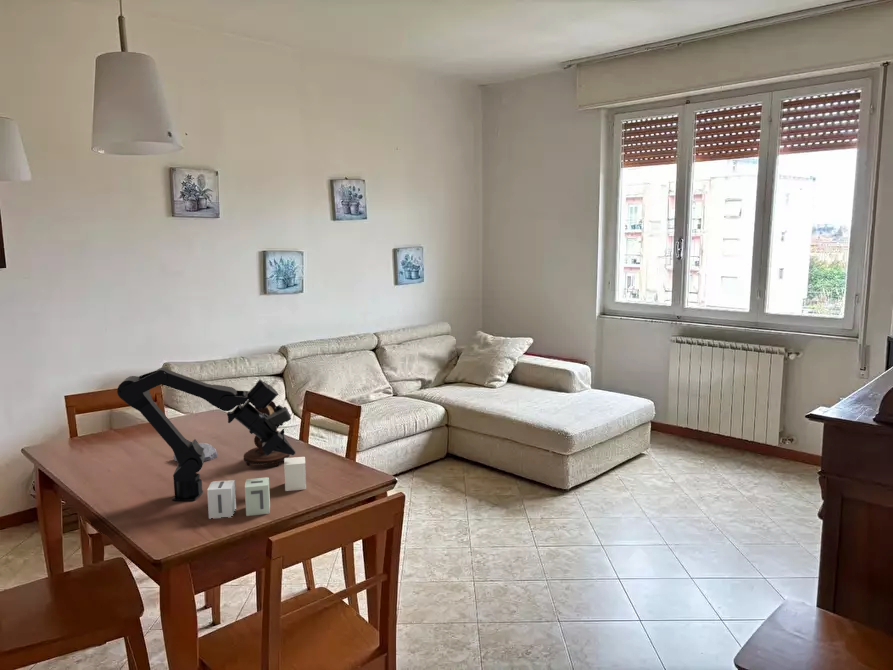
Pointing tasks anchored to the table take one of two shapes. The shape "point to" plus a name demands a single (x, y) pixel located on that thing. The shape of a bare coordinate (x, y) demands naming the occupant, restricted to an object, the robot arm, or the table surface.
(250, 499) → the sage marked block
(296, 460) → the plain cream block
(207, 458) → the stone block
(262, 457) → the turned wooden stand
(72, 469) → the table surface
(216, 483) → the grey marked block
